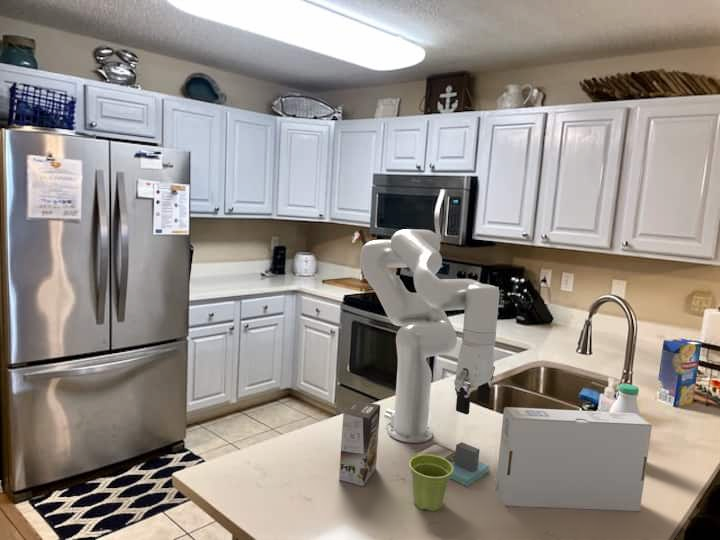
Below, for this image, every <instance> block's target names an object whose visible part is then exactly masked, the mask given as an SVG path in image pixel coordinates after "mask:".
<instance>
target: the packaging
mask: <svg viewBox="0 0 720 540" xmlns="http://www.w3.org/2000/svg"><path fill="white" fill-rule="evenodd" d="M652 428H653V426H652V424H651V423H650V422H648V420H647V421H646V420H645V419H644V418H643V417H642V416H641V417H640V416H638V415H637V414H635V413H619V412H610V411H593V410H573V409H555V408H552V409H551V408H535V407H534V408H533V407H532V408H531V407H512V406H509V407H508V406H505V407H504V408H503V414H502V424H501V433H500V442H499V443H500V444H499V454H498V461H497V462H498V463H497V473H496V482H495V483H496V484H495V493H496V494H497V496H498V499H499V500H500V503H501V504H502V506H503V507H505V506H507V507H527V508H529V507H532V508H552V509H553V508H554V509H555V508H556V509H577V510H580V509H581V510H599V511H600V510H604V511H605V510H606V511H628V512H629V511H632V512H641V507H642V506H641V504H642V498H643V492H644V485H645V484H644V483H645V478H646V471H647V463H648V457H649V450H650V442H651V435H652Z"/></svg>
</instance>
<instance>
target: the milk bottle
mask: <svg viewBox="0 0 720 540" xmlns="http://www.w3.org/2000/svg"><path fill="white" fill-rule="evenodd" d="M617 392H618V397H617V399H616V400H615V402H614V403H613V404H612V406H611V407H610V410H609V412H619V413H635V414H637V415H638V416H640V417H641V418H642V416H641V412H640V409H639V406H638V401H637V400H638V399H637V398H638V397H639V387H638V386H636V385H633V384H629V383H620V384H619V385H618V390H617Z"/></svg>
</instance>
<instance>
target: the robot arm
mask: <svg viewBox="0 0 720 540" xmlns="http://www.w3.org/2000/svg"><path fill="white" fill-rule="evenodd" d="M440 250H441V240H440V238H439V236H438V234H436V233H435V232H434V231H432V230H429V229H415V228H414V229H413V228H406V229H400V230H398V231H396V232H395V233H394V234H393V235H392V236H391V238H390V239H376V240H375V239H374V240H371V241H368V242H367V243H365V244H364V245H363V246H362V247H361V249H360V253H359V256H360V257H359V263H360V268H361V272H362V274H363V276H364V278H365V279H366V282H368V284H369V285H370V286H371V288H372V289H373V291H374V293H375V294H376V296H377V298H378V301H380V304H381V306H382V307H383V310H384V312H385V314H386V316H387V318H388V319H389V321H390V323H392V324H393V325H394V326H397V327H400V328H399V329H398V330H397V333H396V335H395V346H396V355H397V371H396V384H395V385H396V388H395V401H394V410H393V409H392V408H387V409H386V411H385V413H384V417H383V418H384V419H387V420H389V421H390V422H389V424H388V425H387V433H388V434H389V436H391V438H393V439H395V440H397V441H400V442H404V443H411V444H420V443H424V442H427V441H429V440H431V439H432V437H433V433H434V432H433V429H432V427H430V426H429V424H428V423H429V411H430V402H431V401H430V400H431V388H432V370H431V366H430V365H429V364H428V361H427V358H430V357H436V356H444V355H448V354H450V353H452V352H453V351H454V350H455V349H456V347H457V343H458V338H457V333H456V329H455V328H454V326H453V324H452V321H450V319H449V317H448V316H447V314H446V311H447V312H448V311H456V310H457V311H461V310H464V317H463V327H462V338H461V339H462V340H461V342H462V343H461V345H460V349H459V351H458V352H459V353H458V357H457V364H456V373H455V379H454V381H453V383H454V384H453V385H454V387H455V388H454V391H455V395H456V401H455V402H456V403H455V411H456V412H458V413H461V414H464V415H469V414H470V407H471V397H470V396H471V395H470V394H471V392H472V390H473V389H476V388H477V391H476V392H477V393H476V401H477V402H480V403H484V404H485V405H488V404H490V400H491V390H492V389H491V388H492V386H493V382H492V381H493V379H494V374H495V370H496V367H495V366H494V360H495V358H494V357H495V346H496V337H497V326H498V324H497V323H498V315H499V305H500V304H499V303H500V290H499V288H498V287H497V286H495V285H491V284H488V283H482V282H479V281H477V280H475V279H472V278H444V279H442V278H441V279H440V277H438V276H437V275H436V274H437V273H438V272H439V271H440V269H441V267H442V264H443V263H442V262H443V257H442V255H441V254H440ZM391 268H393V269H394V268H395V269H396V268H397V269H398V268H399V269H400V268H402V269H404V268H408V269H409V270H411V272H412V273H413V276H412V277H413V285H414V289H415V291H416V292H411V291H409V290H408V289H407V288H406V286H405V285H404V283H403V281H402V280H401V278H400V277H399V276H398V275H397V274H395V273H394V272H393V271H391V270H390V269H391ZM464 387H465V388H466V390H465V388H464Z"/></svg>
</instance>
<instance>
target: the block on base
mask: <svg viewBox="0 0 720 540" xmlns="http://www.w3.org/2000/svg"><path fill="white" fill-rule="evenodd" d="M455 451H456V452H455V461H453V462H452V463H451V464H452V466H453V473H452V474H451V475H450V478H449V479H451V480H453V481H456V482H458V483H460V484H462V485H464V486H466V487H469V486H470V485H471V484H473V483H474V482H475V481H477V480H478V479H480V478H481V477H482V476H484V475H485V474H487V473H488V472H489V469H490V466H489V464H487V463H484V462H482V461H479V459H480V451H481V450H480V448H476V447H474V446H472V445H470V444H467V443H464V442H462V441H460V442H459V443H457V444H456V445H455Z"/></svg>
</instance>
